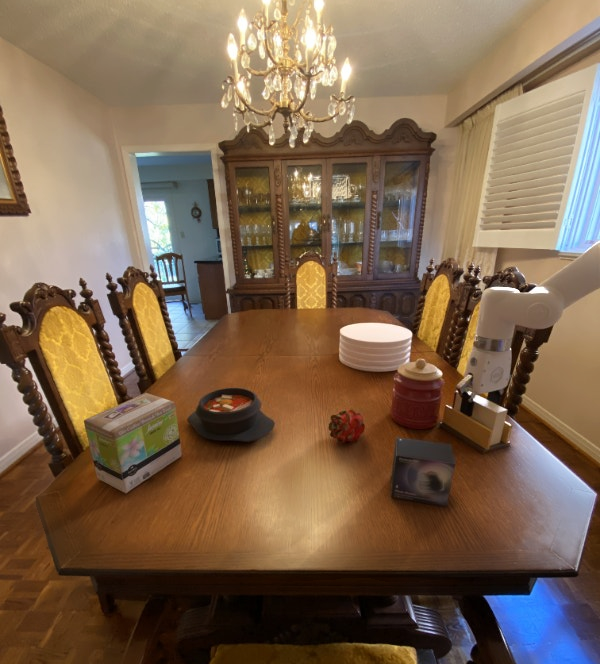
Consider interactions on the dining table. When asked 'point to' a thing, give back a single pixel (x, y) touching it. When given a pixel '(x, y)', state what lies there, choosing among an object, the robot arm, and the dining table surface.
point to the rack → (473, 431)
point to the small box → (422, 471)
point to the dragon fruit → (346, 426)
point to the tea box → (133, 440)
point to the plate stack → (375, 346)
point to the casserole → (231, 416)
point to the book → (485, 415)
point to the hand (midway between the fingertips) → (479, 410)
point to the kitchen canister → (417, 395)
